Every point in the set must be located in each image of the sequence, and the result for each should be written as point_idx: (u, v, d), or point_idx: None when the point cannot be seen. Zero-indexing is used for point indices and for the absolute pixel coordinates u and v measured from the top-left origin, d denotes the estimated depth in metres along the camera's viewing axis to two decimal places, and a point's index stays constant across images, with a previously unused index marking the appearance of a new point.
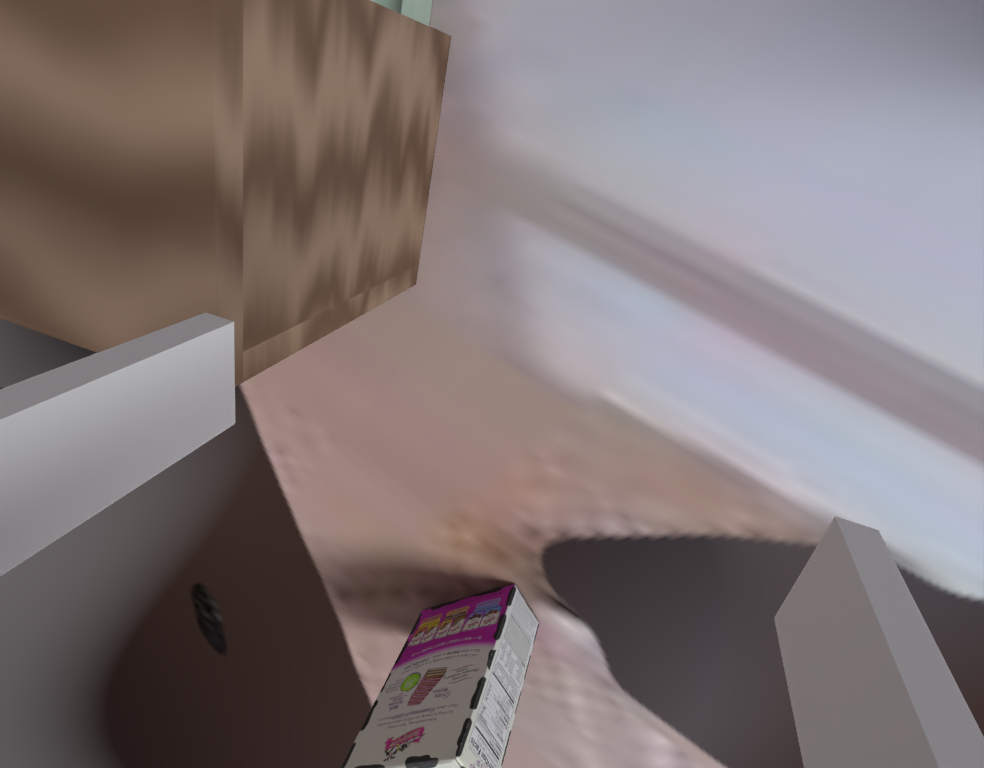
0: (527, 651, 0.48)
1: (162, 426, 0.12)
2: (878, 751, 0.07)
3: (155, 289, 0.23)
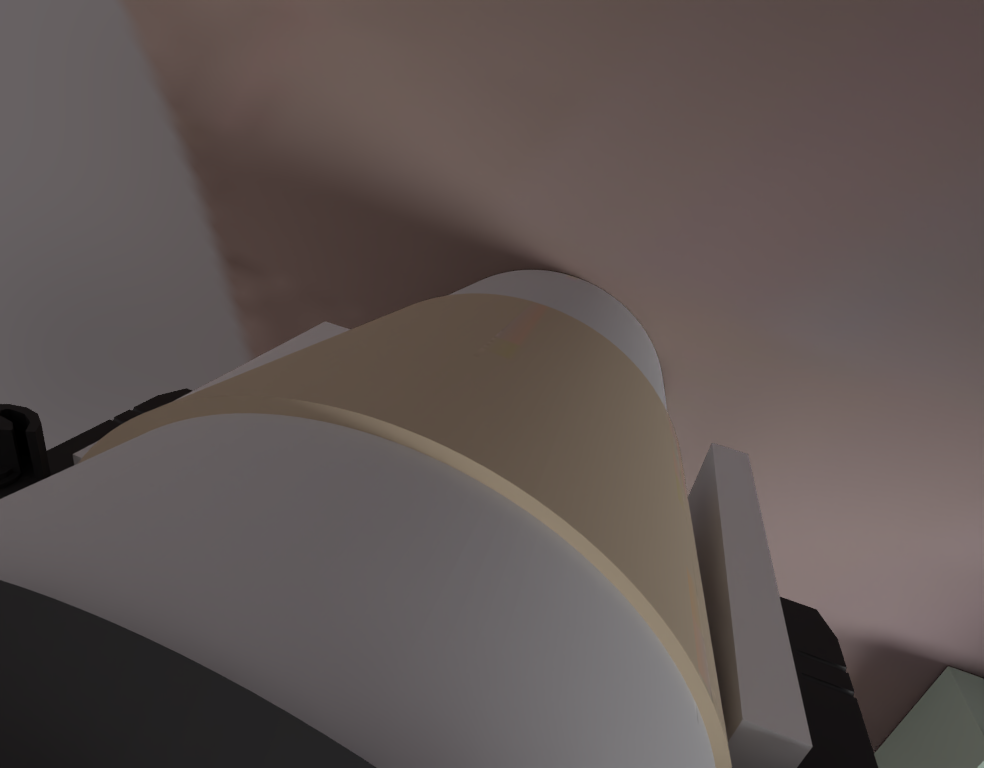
0: None
1: None
2: None
3: None
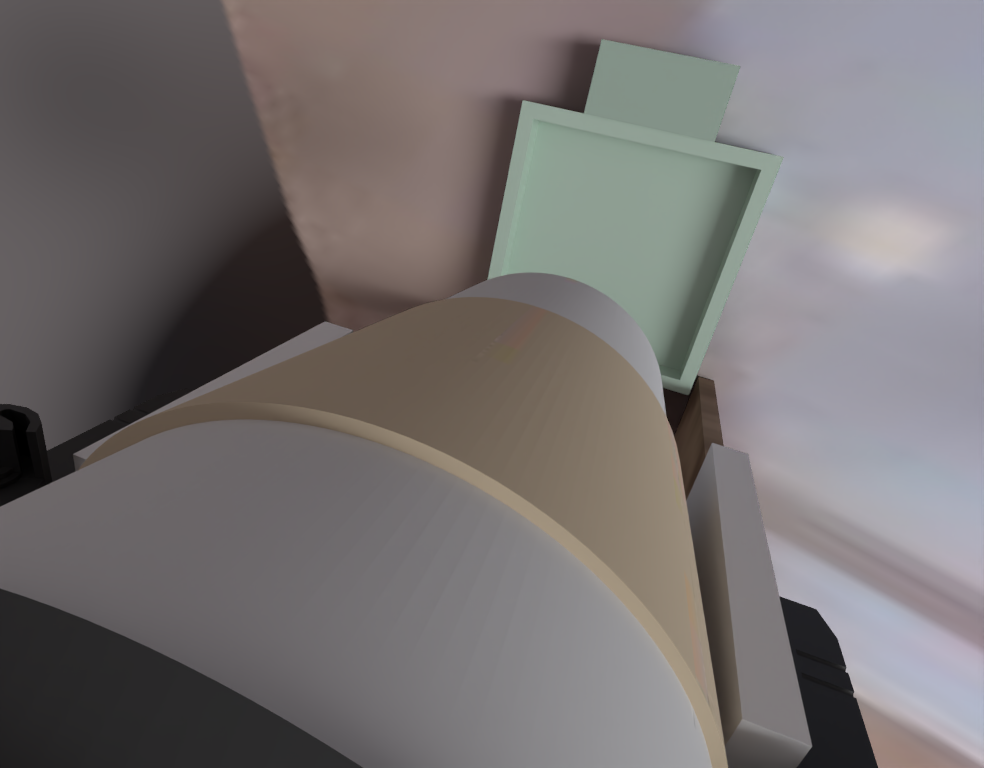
0: None
1: None
2: (704, 609, 0.09)
3: None
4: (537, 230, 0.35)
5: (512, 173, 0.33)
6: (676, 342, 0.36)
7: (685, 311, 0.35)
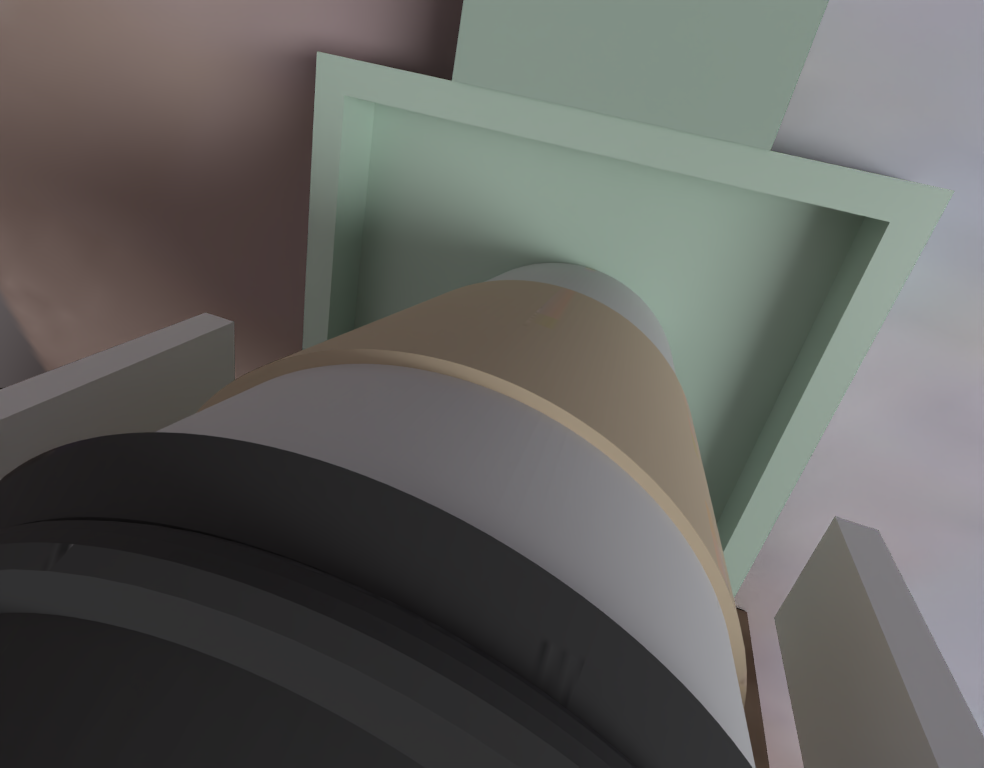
0: None
1: (162, 426, 0.12)
2: (878, 751, 0.07)
3: None
4: None
5: (317, 215, 0.15)
6: None
7: None
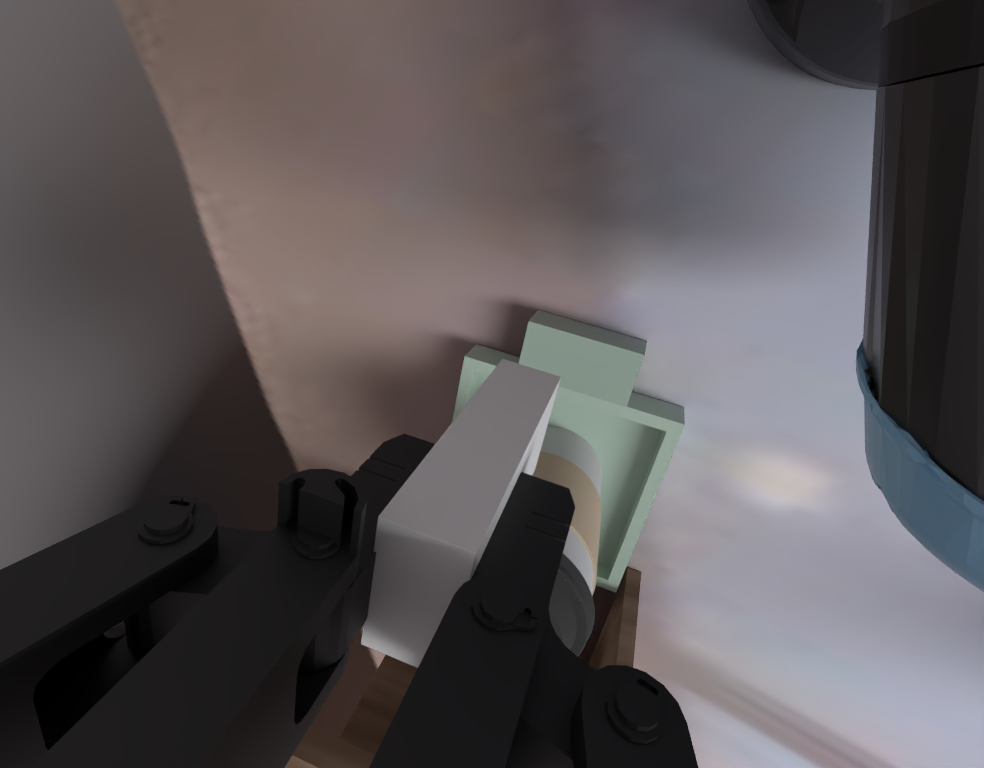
0: None
1: None
2: None
3: None
4: None
5: (458, 409, 0.38)
6: (606, 543, 0.40)
7: (612, 520, 0.40)
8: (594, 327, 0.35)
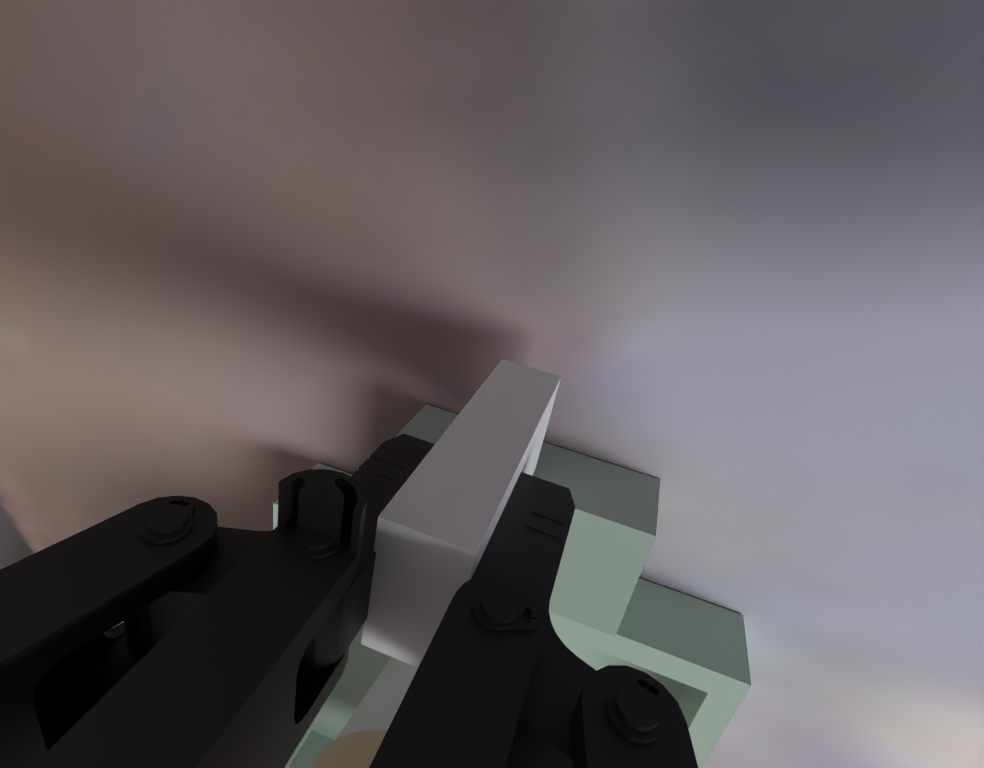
0: None
1: None
2: None
3: None
4: None
5: None
6: None
7: None
8: (544, 447, 0.16)
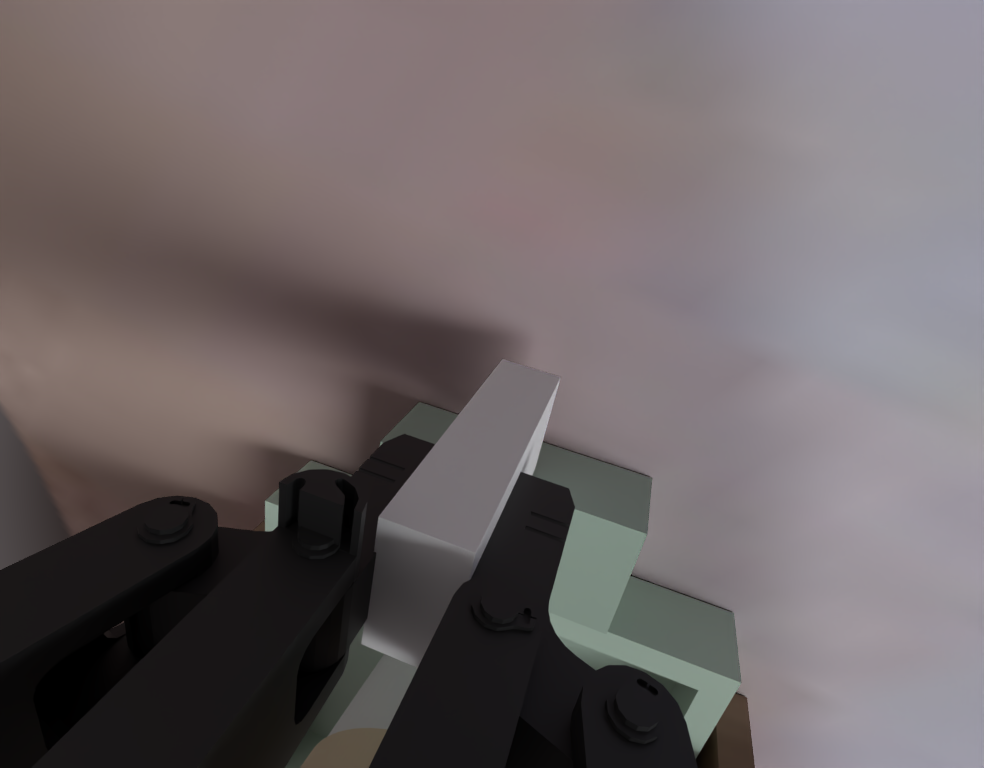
0: None
1: None
2: None
3: None
4: None
5: None
6: None
7: None
8: None
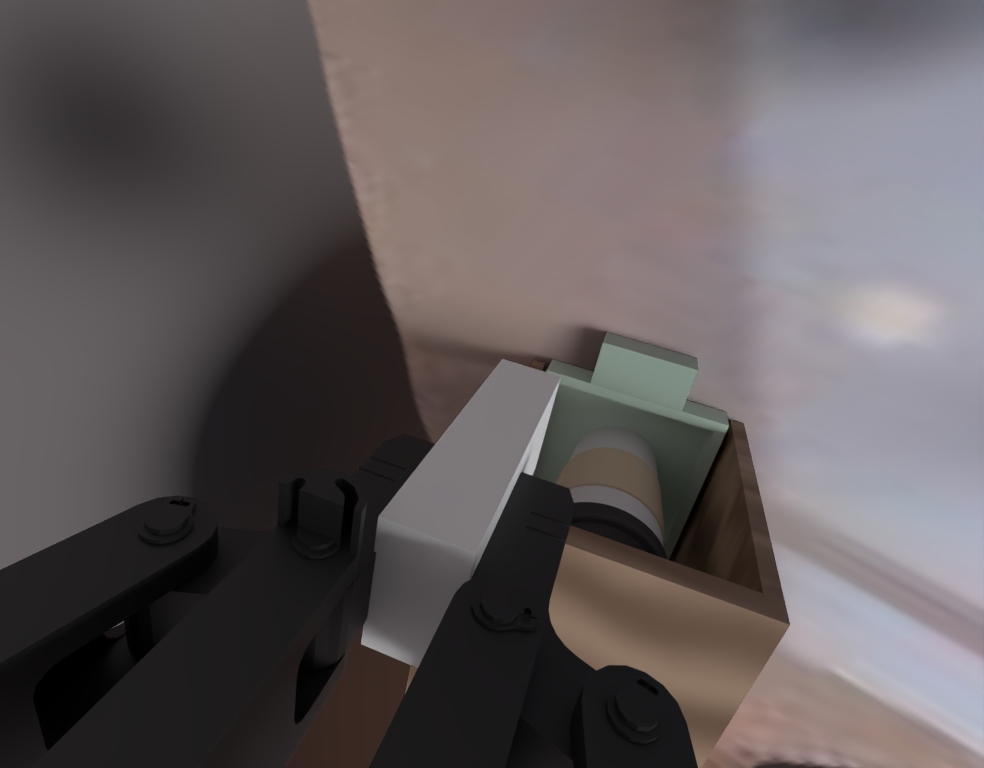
0: None
1: None
2: None
3: None
4: (555, 442, 0.48)
5: None
6: None
7: (663, 505, 0.48)
8: (654, 346, 0.43)
